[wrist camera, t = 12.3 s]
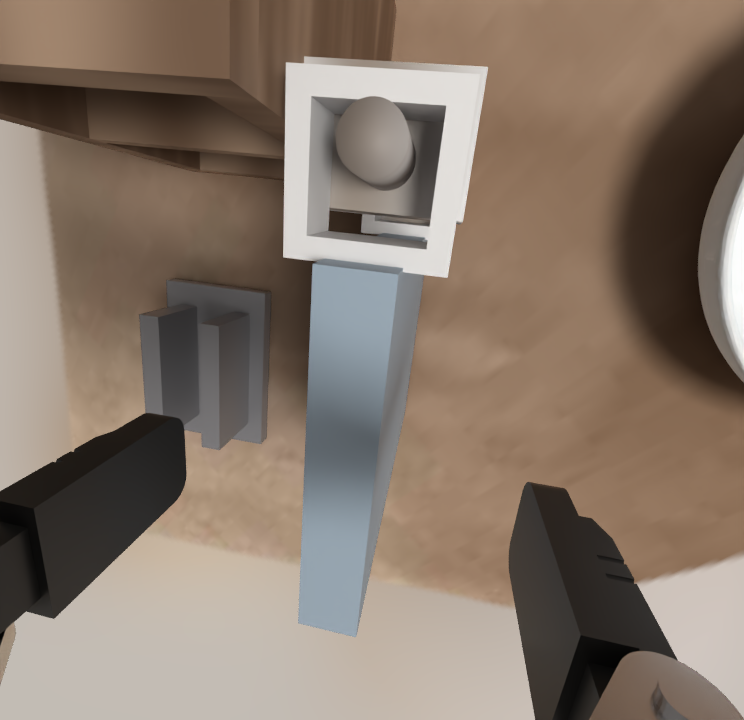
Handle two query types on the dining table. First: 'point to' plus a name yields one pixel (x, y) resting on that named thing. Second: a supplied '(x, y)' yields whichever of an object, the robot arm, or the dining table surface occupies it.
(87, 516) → the robot arm
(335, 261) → the cabinet door
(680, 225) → the dining table surface
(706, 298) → the serving bowl
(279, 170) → the cabinet
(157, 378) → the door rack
